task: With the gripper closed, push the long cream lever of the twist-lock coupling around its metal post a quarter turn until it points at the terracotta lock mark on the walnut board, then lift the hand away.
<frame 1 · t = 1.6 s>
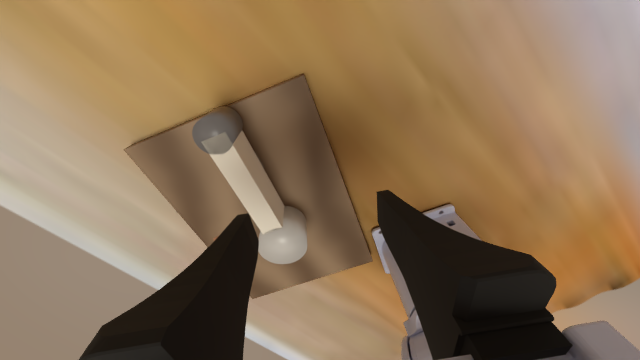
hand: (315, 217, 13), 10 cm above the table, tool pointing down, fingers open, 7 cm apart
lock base: (272, 208, 25), on the table
coupling lever: (258, 193, 20), point 3 cm above the table, hinge at 0.0°
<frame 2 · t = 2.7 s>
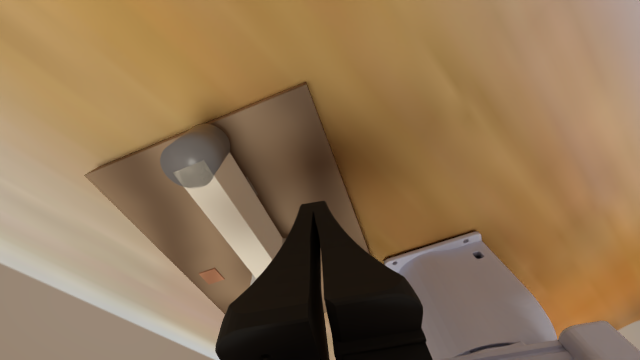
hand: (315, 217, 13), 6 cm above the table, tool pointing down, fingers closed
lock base: (269, 238, 21), on the table
coupling lever: (250, 228, 16), point 3 cm above the table, hinge at 0.0°
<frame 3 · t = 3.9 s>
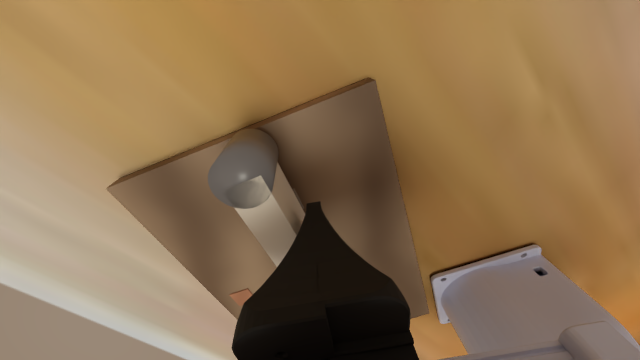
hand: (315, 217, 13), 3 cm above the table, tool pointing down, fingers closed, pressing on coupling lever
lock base: (307, 254, 19), on the table
coupling lever: (299, 249, 14), point 3 cm above the table, hinge at 0.7°, touching gripper
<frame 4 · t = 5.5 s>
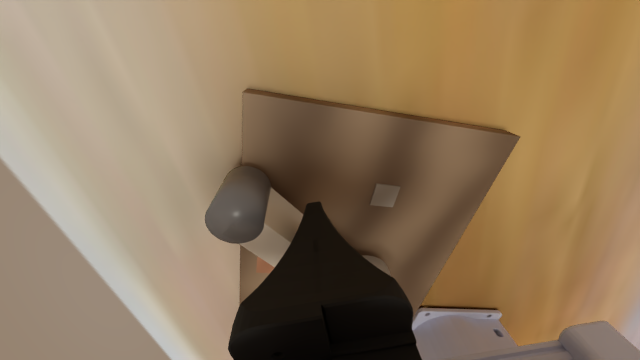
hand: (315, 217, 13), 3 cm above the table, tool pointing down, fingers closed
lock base: (346, 248, 19), on the table
coupling lever: (318, 259, 15), point 3 cm above the table, hinge at 50.7°, touching gripper
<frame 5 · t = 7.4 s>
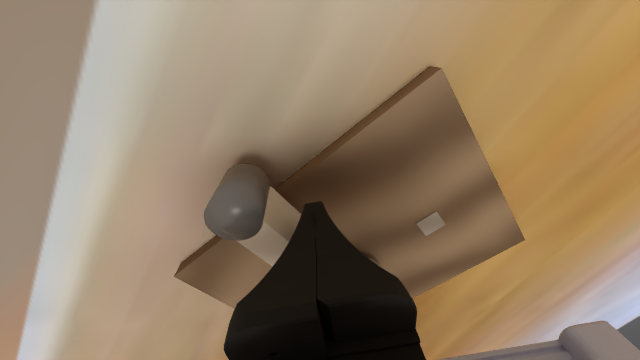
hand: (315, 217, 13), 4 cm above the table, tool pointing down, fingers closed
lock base: (351, 246, 19), on the table
coupling lever: (313, 259, 15), point 3 cm above the table, hinge at 88.9°, touching gripper
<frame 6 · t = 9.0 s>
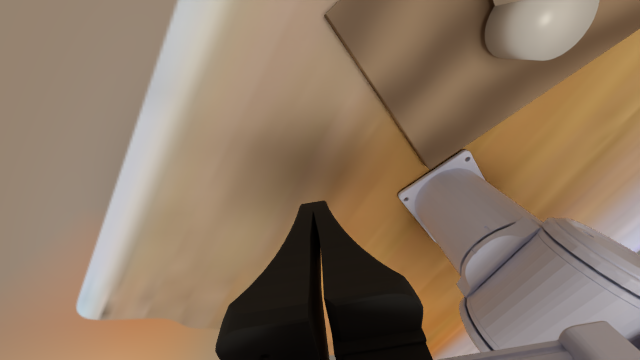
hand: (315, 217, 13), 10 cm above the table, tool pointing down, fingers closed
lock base: (506, 2, 18), on the table
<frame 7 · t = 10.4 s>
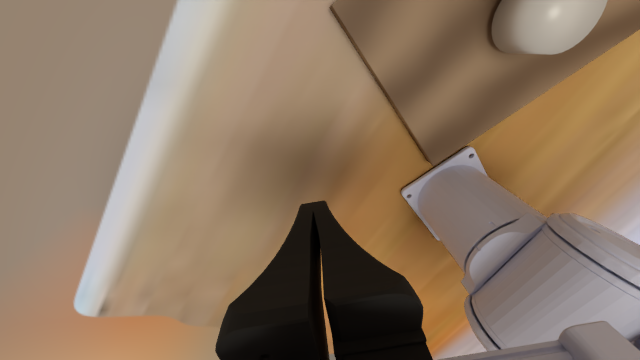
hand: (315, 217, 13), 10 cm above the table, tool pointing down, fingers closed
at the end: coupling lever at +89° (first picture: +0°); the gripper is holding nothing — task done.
